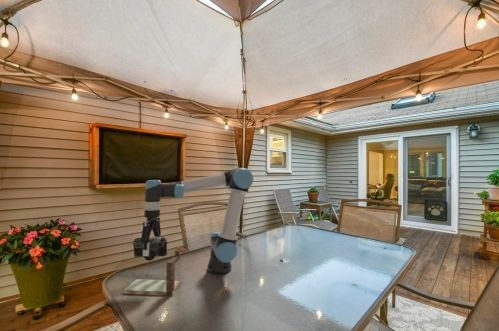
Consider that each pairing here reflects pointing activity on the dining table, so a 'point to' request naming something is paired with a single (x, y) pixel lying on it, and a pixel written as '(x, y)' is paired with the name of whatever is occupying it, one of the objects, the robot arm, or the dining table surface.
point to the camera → (151, 248)
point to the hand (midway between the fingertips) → (150, 252)
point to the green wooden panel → (157, 282)
